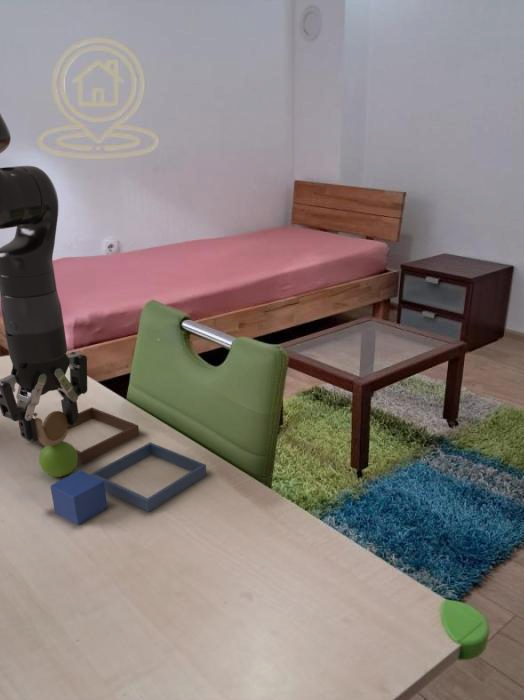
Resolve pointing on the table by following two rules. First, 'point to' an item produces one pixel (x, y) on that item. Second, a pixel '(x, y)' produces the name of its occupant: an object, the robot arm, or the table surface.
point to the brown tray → (127, 434)
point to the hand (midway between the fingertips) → (51, 431)
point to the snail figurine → (55, 445)
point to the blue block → (79, 497)
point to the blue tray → (163, 495)
